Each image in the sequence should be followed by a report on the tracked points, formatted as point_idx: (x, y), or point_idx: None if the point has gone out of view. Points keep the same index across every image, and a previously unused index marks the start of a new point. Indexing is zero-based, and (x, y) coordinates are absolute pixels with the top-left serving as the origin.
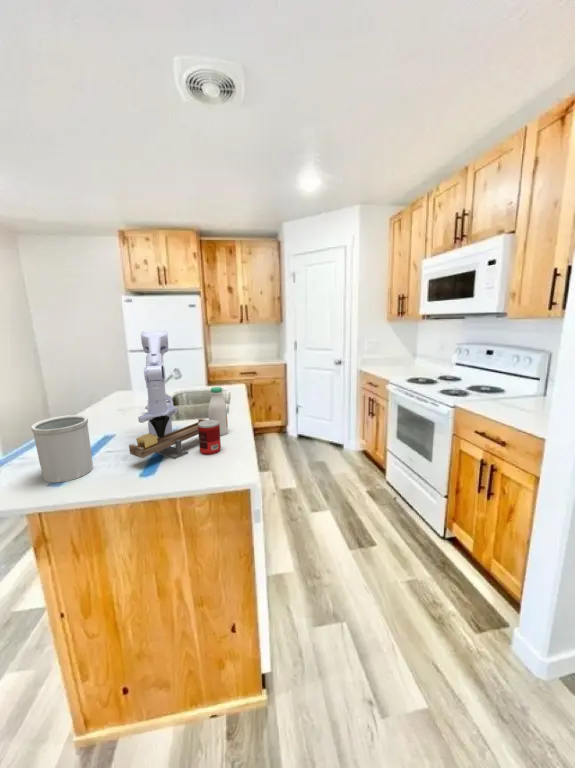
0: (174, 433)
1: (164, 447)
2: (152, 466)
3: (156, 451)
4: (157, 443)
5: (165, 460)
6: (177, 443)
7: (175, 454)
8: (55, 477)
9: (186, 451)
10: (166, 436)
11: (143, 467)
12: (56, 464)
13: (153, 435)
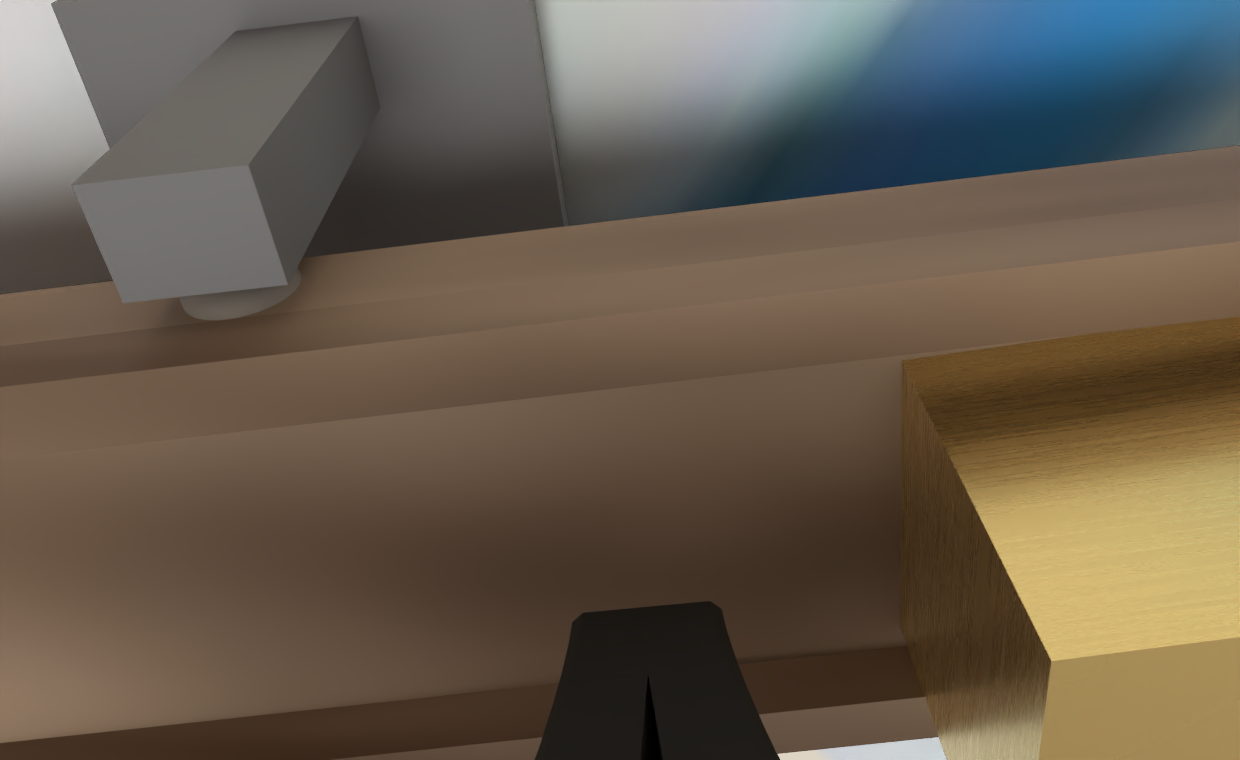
0: (59, 753)
1: (744, 220)
2: (1106, 7)
3: (1052, 178)
4: (938, 416)
5: (713, 68)
6: (275, 138)
7: (415, 87)
8: None
9: (91, 25)
10: (340, 725)
11: (1226, 127)
12: None
13: (1128, 726)
